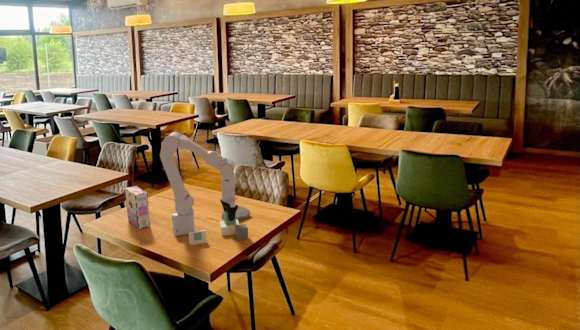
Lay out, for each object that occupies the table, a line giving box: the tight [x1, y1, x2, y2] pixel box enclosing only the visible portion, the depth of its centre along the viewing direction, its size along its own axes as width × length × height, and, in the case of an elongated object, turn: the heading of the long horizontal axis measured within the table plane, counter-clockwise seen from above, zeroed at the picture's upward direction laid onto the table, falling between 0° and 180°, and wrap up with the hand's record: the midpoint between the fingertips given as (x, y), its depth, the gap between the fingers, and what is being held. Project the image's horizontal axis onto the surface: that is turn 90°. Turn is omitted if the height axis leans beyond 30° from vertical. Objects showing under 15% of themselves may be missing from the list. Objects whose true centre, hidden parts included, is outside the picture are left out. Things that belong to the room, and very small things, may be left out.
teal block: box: [223, 210, 236, 226], centre depth 206 cm, size 4×4×5 cm
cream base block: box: [219, 219, 240, 236], centre depth 207 cm, size 8×8×4 cm
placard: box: [188, 229, 208, 246], centre depth 195 cm, size 7×3×5 cm, turn 111°
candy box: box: [124, 185, 151, 230], centre depth 214 cm, size 14×6×16 cm, turn 37°
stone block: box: [221, 205, 251, 221], centre depth 223 cm, size 12×5×10 cm
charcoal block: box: [234, 223, 249, 241], centre depth 200 cm, size 4×4×5 cm
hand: (229, 217), depth 206 cm, fingers open, 7 cm apart
